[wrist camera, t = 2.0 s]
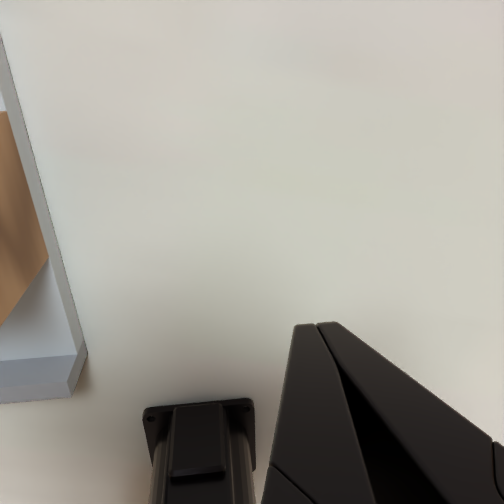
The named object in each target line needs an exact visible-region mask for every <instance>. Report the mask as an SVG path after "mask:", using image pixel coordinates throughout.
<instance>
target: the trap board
mask: <svg viewBox="0 0 504 504" xmlns="http://www.w3.org/2000/svg"><path fill="white" fill-rule="evenodd" d="M0 111H7V114H8V117H9V121H10V124H11V128H12V131H13V135H14V138H15V142H16V145H17V148H18V152H19V155H20V159H21V162H22V166H23V169H24V173H25V176H26V179H27V183H28V186H29V190H30V193H31V197H32V200H33V203H34V207H35V210H36V214H37V217H38V221H39V224H40V228H41V231H42V234H43V238H44V241H45V245H46V248H47V252H48V255H49V257H48V259H47V260H46V262H45V263H44V265H43V266H42V268H41V269H40V270H39V272H38V273H37V275H36V276H35V278H34V279H33V281H32V282H31V283H30V285H29V286H28V288H27V289H26V291H25V292H24V294H23V295H22V296H21V298H20V299H19V301H18V302H17V304H16V305H15V307H14V308H13V309H12V311H11V312H10V314H9V315H8V317H7V318H6V320H5V321H4V322H3V324H2V325H1V327H0V404H5V403H16V402H27V401H38V400H48V399H59V398H70V397H72V395H73V392H74V390H75V387H76V384H77V381H78V379H79V376H80V373H81V370H82V368H83V365H84V362H85V359H86V356H87V354H88V353H87V349H86V345H85V342H84V338H83V334H82V331H81V327H80V323H79V320H78V316H77V312H76V309H75V305H74V302H73V298H72V294H71V291H70V287H69V283H68V280H67V276H66V272H65V269H64V265H63V261H62V258H61V254H60V251H59V247H58V243H57V240H56V236H55V232H54V229H53V225H52V221H51V218H50V214H49V211H48V207H47V203H46V200H45V196H44V192H43V189H42V185H41V181H40V178H39V174H38V170H37V167H36V163H35V160H34V156H33V152H32V149H31V145H30V141H29V138H28V134H27V130H26V127H25V123H24V119H23V116H22V112H21V109H20V105H19V101H18V98H17V94H16V90H15V87H14V83H13V79H12V76H11V72H10V69H9V65H8V61H7V58H6V54H5V50H4V47H3V43H2V39H1V36H0Z"/></svg>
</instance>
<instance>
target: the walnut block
mask: <svg viewBox="0 0 504 504" xmlns="http://www.w3.org/2000/svg"><path fill="white" fill-rule="evenodd" d="M48 257H49V255H48V252H47V248H46V245H45V241H44V238H43V234H42V231H41V228H40V224H39V221H38V217H37V214H36V210H35V207H34V203H33V200H32V197H31V193H30V190H29V186H28V183H27V179H26V176H25V173H24V169H23V166H22V162H21V159H20V155H19V152H18V148H17V145H16V142H15V138H14V135H13V131H12V128H11V124H10V121H9V117H8V114H7V111H0V327H1V325H2V324H3V322H4V321H5V320H6V318H7V317H8V315H9V314H10V312H11V311H12V309H13V308H14V307H15V305H16V304H17V302H18V301H19V299H20V298H21V296H22V295H23V294H24V292H25V291H26V289H27V288H28V286H29V285H30V283H31V282H32V281H33V279H34V278H35V276H36V275H37V273H38V272H39V270H40V269H41V268H42V266H43V265H44V263H45V262H46V260H47V259H48Z"/></svg>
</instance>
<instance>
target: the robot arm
mask: <svg viewBox="0 0 504 504" xmlns="http://www.w3.org/2000/svg"><path fill="white" fill-rule="evenodd" d="M142 420H143V425H144V429H145V434H146V439H147V444H148V448H149V453H150V458H151V462H152V467H153V469H152V478H151V486H150V495H149V503H148V504H256V501H255V492H254V483H253V474H252V472H253V471H254V470H255V469H256V453H255V412H254V403H253V401H252V400H251V399H249V398H242V399H232V400H222V401H211V402H201V403H191V404H180V405H170V406H159V407H150V408H147V409H145V410H144V412H143V419H142ZM261 504H504V446H502V445H501V444H500V443H498V442H497V441H494V442H493V441H492V438H491V437H490V436H489V435H487V434H486V433H485V432H483V431H482V430H481V429H479V428H478V427H477V426H475V425H474V424H473V423H471V422H470V421H469V420H467V419H466V418H465V417H463V416H462V415H461V414H459V413H458V412H457V411H455V410H454V409H453V408H451V407H450V406H449V405H447V404H446V403H445V402H443V401H442V400H441V399H439V398H438V397H437V396H435V395H434V394H433V393H431V392H430V391H429V390H427V389H426V388H425V387H423V386H422V385H421V384H419V383H418V382H417V381H415V380H414V379H413V378H411V377H410V376H409V375H407V374H406V373H405V372H403V371H402V370H401V369H399V368H398V367H397V366H395V365H394V364H393V363H391V362H390V361H389V360H387V359H386V358H385V357H383V356H382V355H381V354H379V353H378V352H377V351H375V350H374V349H373V348H371V347H370V346H369V345H367V344H366V343H365V342H363V341H362V340H361V339H359V338H358V337H357V336H355V335H354V334H353V333H351V332H350V331H349V330H347V329H346V328H345V327H343V326H342V325H341V324H339V323H338V322H322V323H318V324H316V325H315V324H312V323H310V324H298V325H295V326H294V329H293V335H292V340H291V346H290V351H289V357H288V362H287V368H286V373H285V379H284V384H283V390H282V395H281V401H280V406H279V411H278V417H277V422H276V428H275V433H274V439H273V444H272V450H271V455H270V461H269V468H268V470H267V476H266V481H265V487H264V492H263V497H262V501H261Z"/></svg>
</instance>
